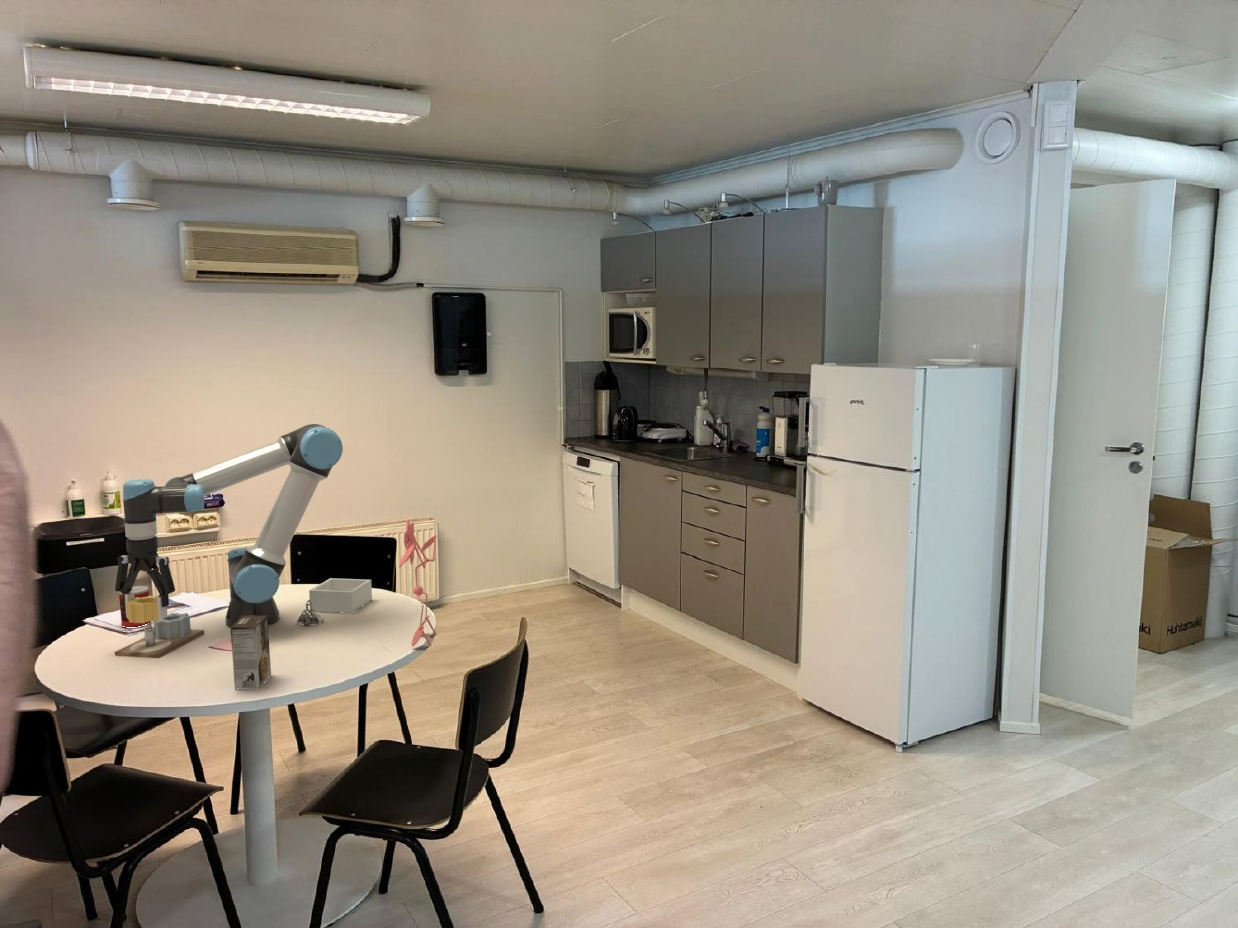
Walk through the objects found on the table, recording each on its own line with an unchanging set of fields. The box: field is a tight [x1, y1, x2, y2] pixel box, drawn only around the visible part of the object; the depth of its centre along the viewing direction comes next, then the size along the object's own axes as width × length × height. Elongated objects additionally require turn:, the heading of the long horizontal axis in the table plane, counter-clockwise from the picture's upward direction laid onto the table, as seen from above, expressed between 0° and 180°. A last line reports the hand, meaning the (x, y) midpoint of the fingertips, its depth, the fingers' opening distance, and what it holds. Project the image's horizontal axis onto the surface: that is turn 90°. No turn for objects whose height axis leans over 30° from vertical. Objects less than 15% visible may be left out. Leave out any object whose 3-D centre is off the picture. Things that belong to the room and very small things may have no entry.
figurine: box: [398, 519, 443, 647], centre depth 245 cm, size 15×26×35 cm, turn 2°
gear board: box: [114, 629, 205, 659], centre depth 245 cm, size 13×20×1 cm, turn 172°
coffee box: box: [230, 615, 272, 690], centre depth 216 cm, size 9×6×16 cm
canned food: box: [118, 585, 152, 627], centre depth 262 cm, size 8×8×11 cm
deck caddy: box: [308, 577, 373, 614], centre depth 280 cm, size 14×14×7 cm
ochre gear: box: [127, 595, 158, 623], centre depth 239 cm, size 9×9×5 cm
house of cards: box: [296, 598, 325, 627], centre depth 261 cm, size 9×9×8 cm
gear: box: [153, 612, 192, 640], centre depth 250 cm, size 9×9×6 cm
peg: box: [144, 623, 156, 647], centre depth 240 cm, size 2×2×6 cm
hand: (146, 617), depth 239 cm, fingers closed on ochre gear, 9 cm apart
